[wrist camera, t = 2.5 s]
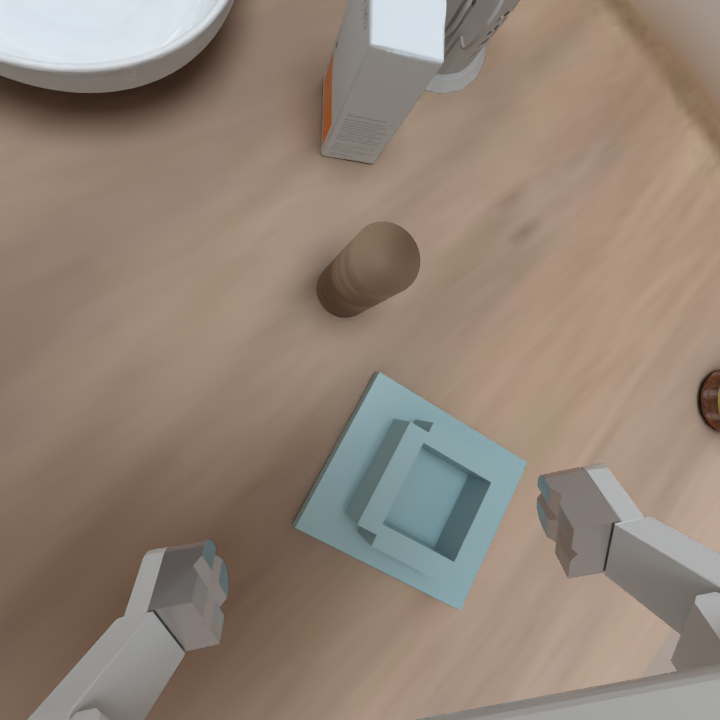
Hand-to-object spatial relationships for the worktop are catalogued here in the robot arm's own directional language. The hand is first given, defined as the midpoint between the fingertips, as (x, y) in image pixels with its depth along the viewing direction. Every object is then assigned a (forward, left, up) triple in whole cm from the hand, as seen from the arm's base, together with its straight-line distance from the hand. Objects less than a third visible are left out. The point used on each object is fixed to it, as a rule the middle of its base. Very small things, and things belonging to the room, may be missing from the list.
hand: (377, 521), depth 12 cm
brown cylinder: (-1, +11, -22) cm, 24 cm away
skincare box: (-7, +22, -22) cm, 32 cm away
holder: (+11, +1, -22) cm, 24 cm away
